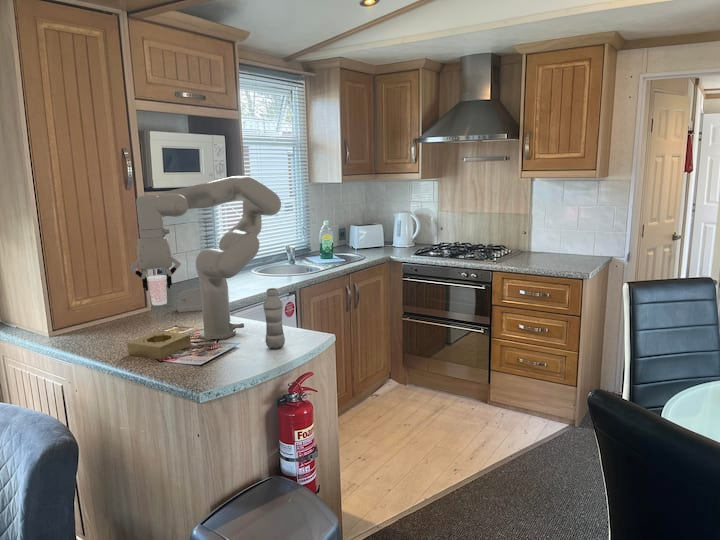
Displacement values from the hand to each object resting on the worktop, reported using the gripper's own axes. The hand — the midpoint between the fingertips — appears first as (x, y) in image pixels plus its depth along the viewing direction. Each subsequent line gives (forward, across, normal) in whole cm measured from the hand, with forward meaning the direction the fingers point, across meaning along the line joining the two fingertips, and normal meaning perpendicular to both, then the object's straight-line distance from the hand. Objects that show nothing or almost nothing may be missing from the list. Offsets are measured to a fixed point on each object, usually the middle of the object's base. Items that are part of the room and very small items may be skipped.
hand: (157, 288), depth 173 cm
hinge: (+22, -18, -53) cm, 60 cm away
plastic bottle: (+22, -34, +15) cm, 43 cm away
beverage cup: (+5, 0, 0) cm, 5 cm away
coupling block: (+21, +1, -2) cm, 22 cm away
